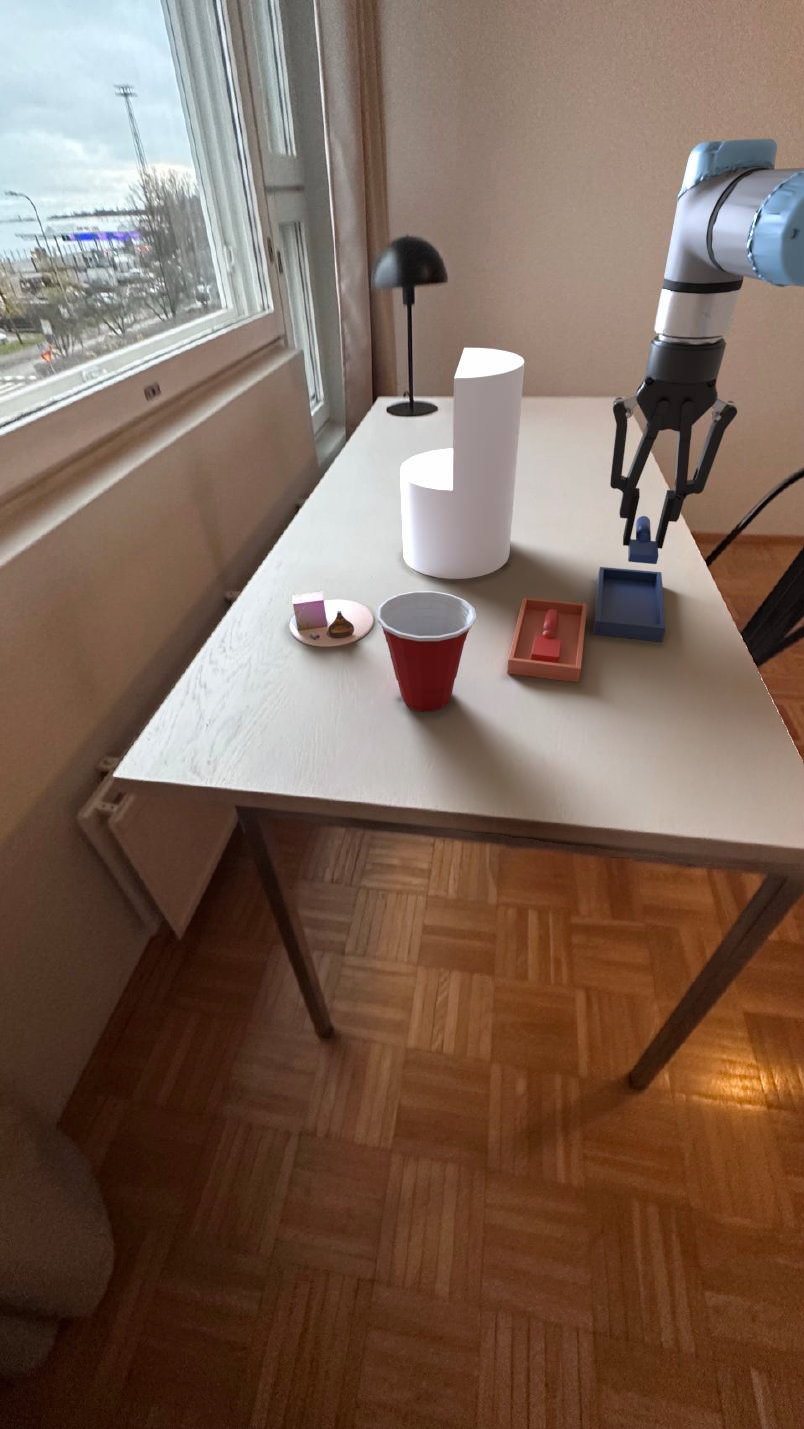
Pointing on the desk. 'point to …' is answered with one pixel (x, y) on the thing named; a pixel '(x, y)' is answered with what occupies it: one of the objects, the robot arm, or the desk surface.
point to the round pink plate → (328, 620)
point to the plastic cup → (425, 644)
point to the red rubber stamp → (547, 640)
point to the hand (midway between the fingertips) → (642, 542)
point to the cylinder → (467, 474)
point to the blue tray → (629, 604)
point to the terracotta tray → (567, 630)
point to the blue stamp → (643, 544)
